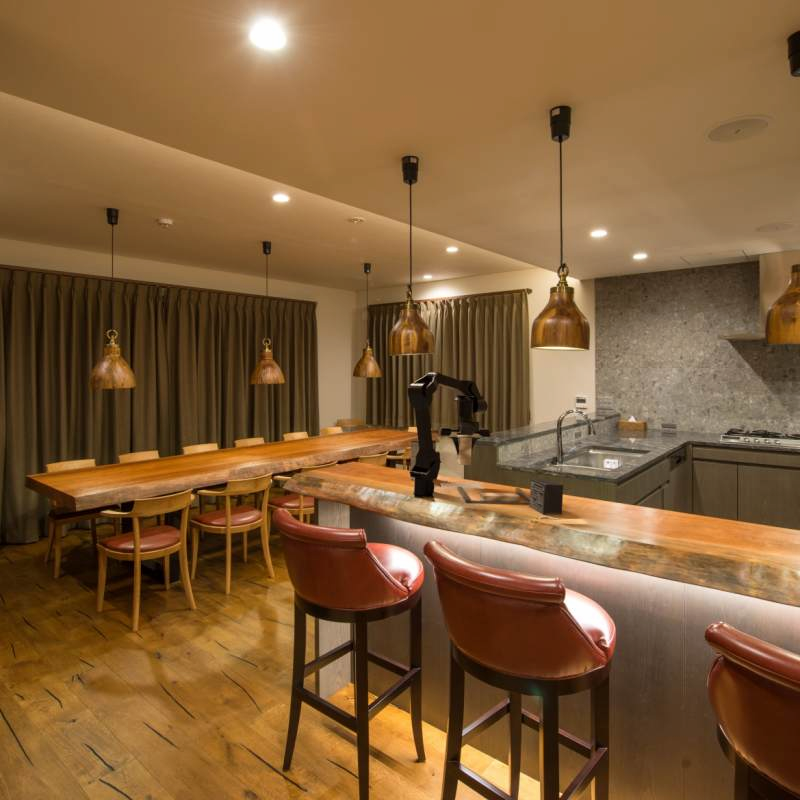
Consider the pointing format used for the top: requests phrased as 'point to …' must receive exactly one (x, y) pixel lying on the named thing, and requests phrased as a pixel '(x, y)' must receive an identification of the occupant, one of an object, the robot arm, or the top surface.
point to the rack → (518, 490)
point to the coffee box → (415, 450)
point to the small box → (546, 496)
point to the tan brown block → (464, 450)
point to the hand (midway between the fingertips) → (463, 454)
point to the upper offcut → (499, 497)
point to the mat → (461, 485)
